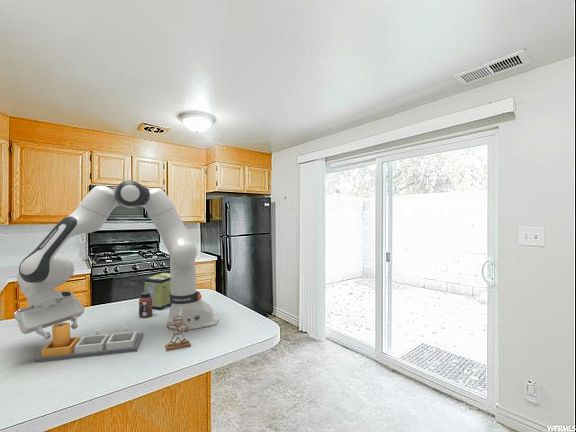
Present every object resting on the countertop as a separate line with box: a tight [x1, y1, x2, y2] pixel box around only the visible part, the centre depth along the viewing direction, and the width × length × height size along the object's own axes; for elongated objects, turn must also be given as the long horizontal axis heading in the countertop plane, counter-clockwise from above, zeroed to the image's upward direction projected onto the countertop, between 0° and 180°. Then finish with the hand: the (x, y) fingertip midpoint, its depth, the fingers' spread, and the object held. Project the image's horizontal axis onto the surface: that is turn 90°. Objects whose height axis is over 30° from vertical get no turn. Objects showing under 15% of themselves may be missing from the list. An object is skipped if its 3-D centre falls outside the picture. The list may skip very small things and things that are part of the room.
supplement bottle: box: [138, 291, 153, 318], centre depth 151 cm, size 6×6×11 cm
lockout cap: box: [51, 322, 71, 348], centre depth 113 cm, size 5×5×9 cm
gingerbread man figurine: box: [164, 316, 191, 352], centre depth 119 cm, size 9×4×12 cm, turn 118°
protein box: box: [144, 272, 171, 311], centre depth 168 cm, size 10×16×16 cm
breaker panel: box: [33, 326, 144, 364], centre depth 118 cm, size 32×14×5 cm, turn 106°
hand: (62, 332), depth 113 cm, fingers open, 8 cm apart
